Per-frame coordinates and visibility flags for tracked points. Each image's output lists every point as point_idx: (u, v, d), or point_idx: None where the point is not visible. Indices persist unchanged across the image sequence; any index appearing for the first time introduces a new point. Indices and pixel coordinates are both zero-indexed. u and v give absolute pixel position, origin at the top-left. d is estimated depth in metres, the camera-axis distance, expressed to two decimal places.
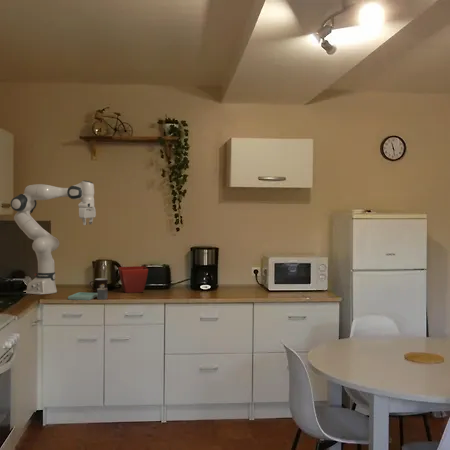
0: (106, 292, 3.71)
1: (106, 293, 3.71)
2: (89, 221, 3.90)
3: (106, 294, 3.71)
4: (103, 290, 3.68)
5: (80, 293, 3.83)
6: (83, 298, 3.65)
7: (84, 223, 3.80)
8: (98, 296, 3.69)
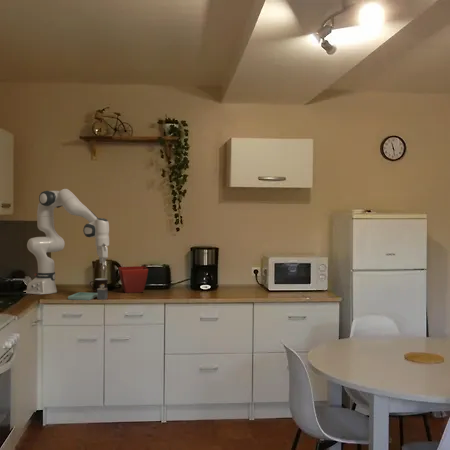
0: (106, 292, 3.71)
1: (106, 293, 3.71)
2: None
3: (106, 294, 3.71)
4: (103, 290, 3.68)
5: (80, 293, 3.83)
6: (83, 298, 3.65)
7: None
8: (98, 296, 3.69)
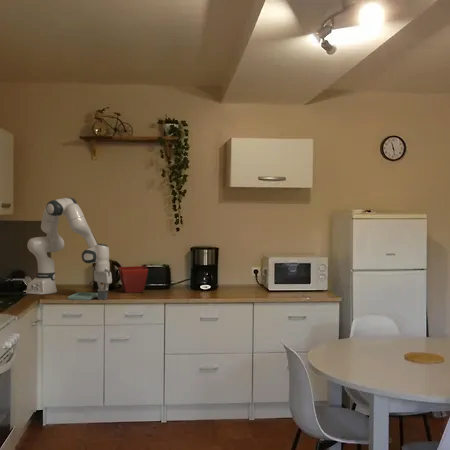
0: (106, 293, 3.71)
1: (106, 294, 3.71)
2: (107, 287, 3.66)
3: (106, 295, 3.71)
4: (103, 291, 3.68)
5: (80, 293, 3.83)
6: (83, 298, 3.65)
7: None
8: (98, 296, 3.68)
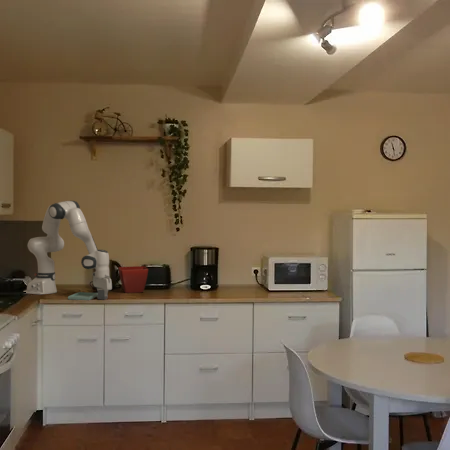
0: None
1: None
2: (106, 293, 3.68)
3: None
4: (103, 290, 3.68)
5: (80, 293, 3.83)
6: (83, 298, 3.65)
7: None
8: (98, 296, 3.69)
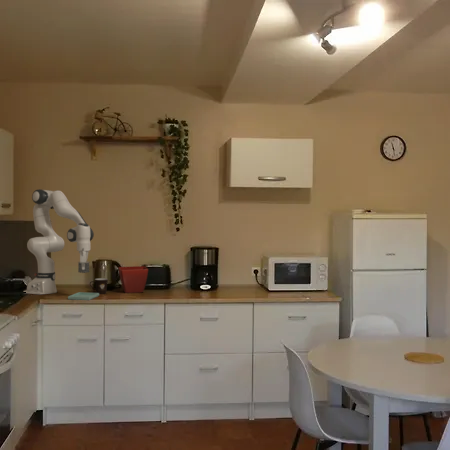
0: (87, 266, 3.72)
1: (87, 267, 3.72)
2: (84, 266, 3.69)
3: (87, 268, 3.72)
4: None
5: (80, 293, 3.83)
6: (83, 298, 3.65)
7: None
8: (79, 269, 3.72)
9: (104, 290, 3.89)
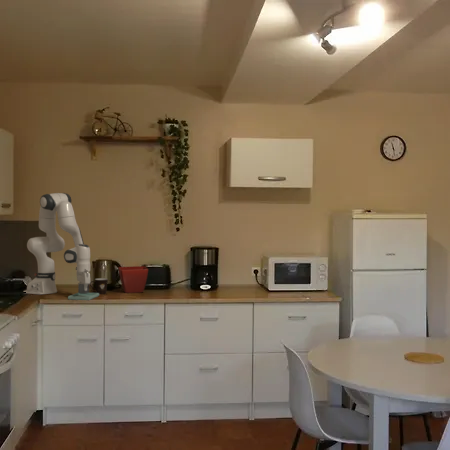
0: (87, 286, 3.74)
1: (87, 287, 3.74)
2: (86, 287, 3.70)
3: (87, 288, 3.74)
4: (83, 284, 3.71)
5: (80, 293, 3.83)
6: (83, 298, 3.65)
7: None
8: (79, 290, 3.72)
9: (104, 290, 3.89)
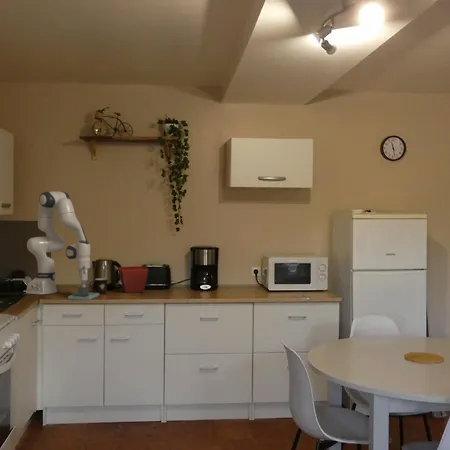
0: (86, 289, 3.74)
1: (86, 290, 3.74)
2: None
3: (86, 291, 3.73)
4: (82, 286, 3.71)
5: None
6: (83, 298, 3.65)
7: None
8: (78, 292, 3.72)
9: (104, 290, 3.89)
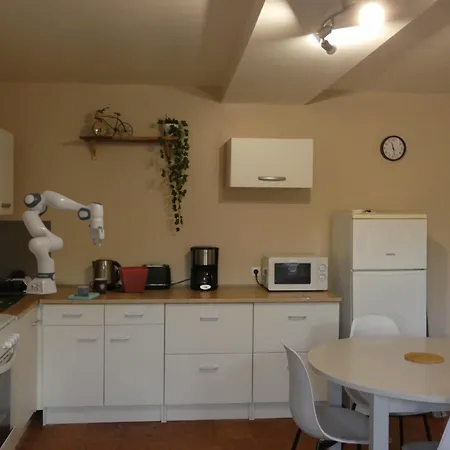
0: (86, 290, 3.73)
1: (86, 291, 3.73)
2: (100, 243, 3.89)
3: (86, 292, 3.73)
4: (82, 288, 3.70)
5: None
6: (83, 298, 3.65)
7: None
8: (78, 294, 3.72)
9: (104, 290, 3.89)
